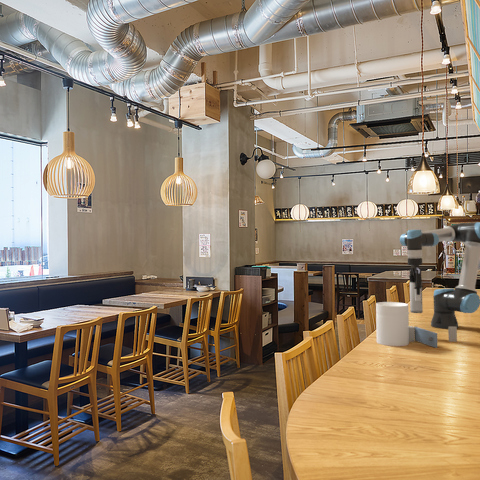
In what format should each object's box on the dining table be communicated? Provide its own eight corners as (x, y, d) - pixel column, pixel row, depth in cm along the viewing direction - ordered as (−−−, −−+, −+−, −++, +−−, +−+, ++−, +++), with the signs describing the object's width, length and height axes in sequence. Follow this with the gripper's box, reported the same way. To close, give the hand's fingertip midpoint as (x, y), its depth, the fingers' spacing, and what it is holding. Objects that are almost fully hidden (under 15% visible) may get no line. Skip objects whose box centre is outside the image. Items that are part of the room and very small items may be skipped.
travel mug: (407, 311, 246) (406, 275, 246) (419, 311, 247) (418, 275, 247) (413, 313, 240) (412, 276, 240) (424, 313, 241) (423, 276, 241)
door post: (412, 340, 235) (412, 326, 235) (414, 341, 232) (414, 327, 232) (406, 340, 236) (406, 326, 236) (408, 341, 233) (408, 327, 233)
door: (437, 347, 218) (437, 332, 218) (432, 347, 217) (432, 333, 217) (416, 340, 235) (416, 326, 235) (411, 340, 234) (411, 326, 234)
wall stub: (455, 340, 233) (455, 326, 233) (456, 341, 231) (456, 327, 231) (448, 340, 233) (448, 326, 233) (449, 341, 231) (449, 327, 231)
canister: (413, 342, 231) (413, 303, 231) (401, 347, 220) (400, 307, 220) (384, 337, 242) (384, 301, 242) (371, 343, 230) (370, 304, 231)
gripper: (402, 257, 253) (403, 297, 253) (413, 258, 234) (414, 302, 234) (416, 256, 253) (417, 297, 253) (427, 258, 234) (428, 302, 234)
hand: (415, 299), depth 244 cm, fingers closed on travel mug, 6 cm apart
